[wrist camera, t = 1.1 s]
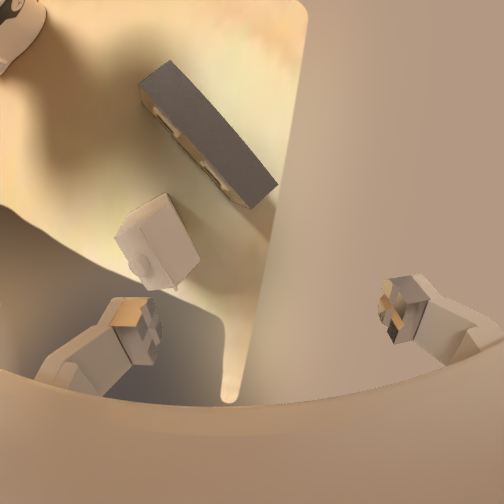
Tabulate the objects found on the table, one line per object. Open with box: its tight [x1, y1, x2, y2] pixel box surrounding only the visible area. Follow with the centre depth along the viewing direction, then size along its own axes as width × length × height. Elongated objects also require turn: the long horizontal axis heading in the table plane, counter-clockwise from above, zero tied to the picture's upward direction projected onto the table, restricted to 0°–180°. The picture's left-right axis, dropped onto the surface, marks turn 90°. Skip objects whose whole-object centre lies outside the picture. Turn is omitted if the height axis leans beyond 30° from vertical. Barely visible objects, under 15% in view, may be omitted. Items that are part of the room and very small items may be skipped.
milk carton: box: [114, 192, 201, 291], centre depth 33 cm, size 7×7×19 cm
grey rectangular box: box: [138, 60, 278, 209], centre depth 35 cm, size 22×5×10 cm, turn 40°
